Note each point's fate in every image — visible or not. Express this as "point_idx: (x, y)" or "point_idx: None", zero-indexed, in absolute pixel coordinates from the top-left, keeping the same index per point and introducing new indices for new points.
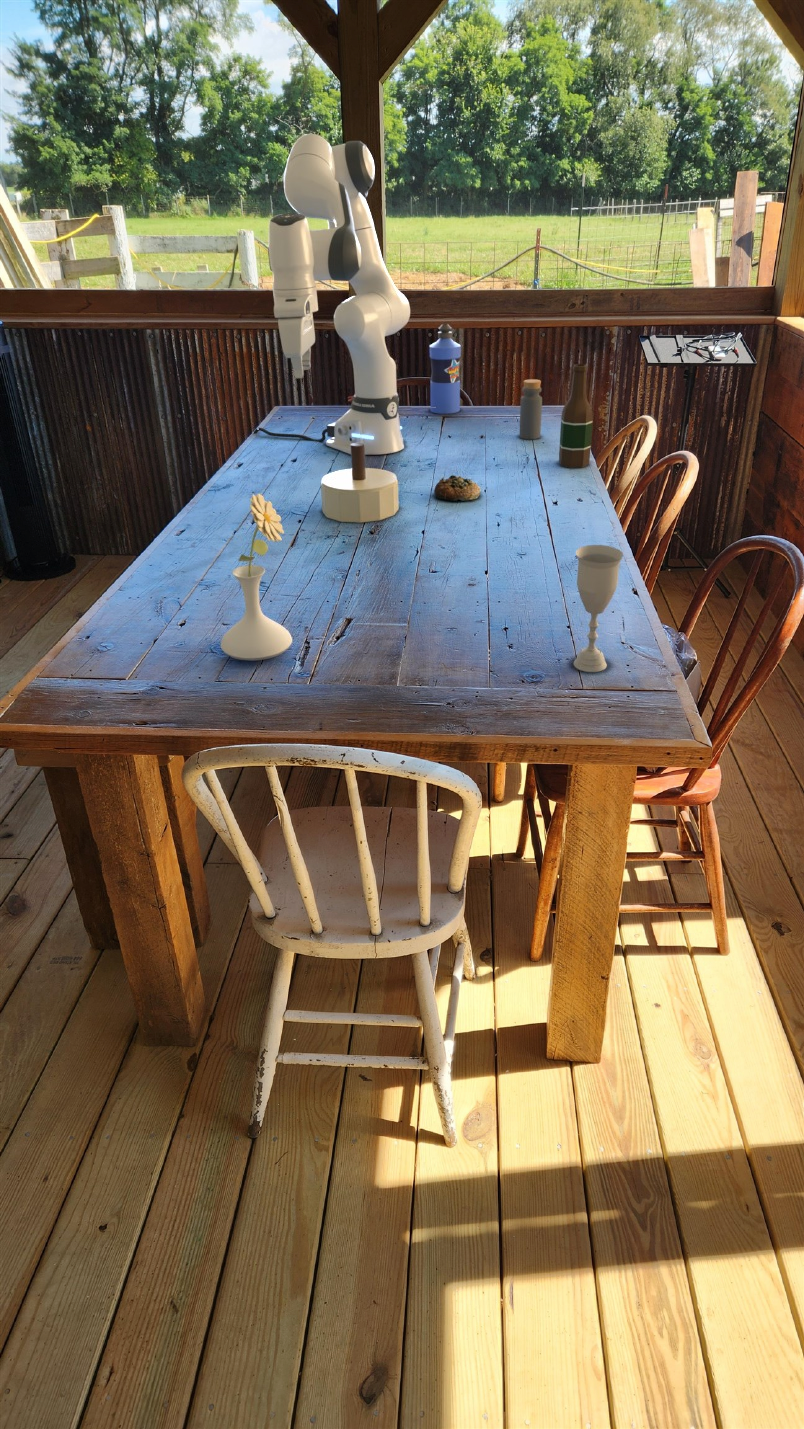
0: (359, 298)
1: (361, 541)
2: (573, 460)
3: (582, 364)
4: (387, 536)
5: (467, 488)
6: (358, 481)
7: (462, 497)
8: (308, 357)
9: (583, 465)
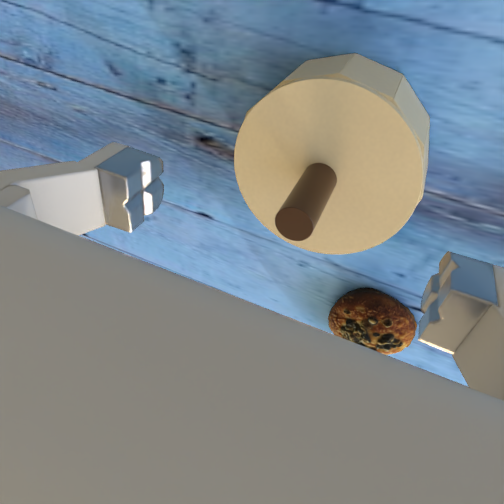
0: None
1: (165, 113)
2: None
3: None
4: (187, 160)
5: (338, 333)
6: (295, 171)
7: (329, 314)
8: (472, 372)
9: None
